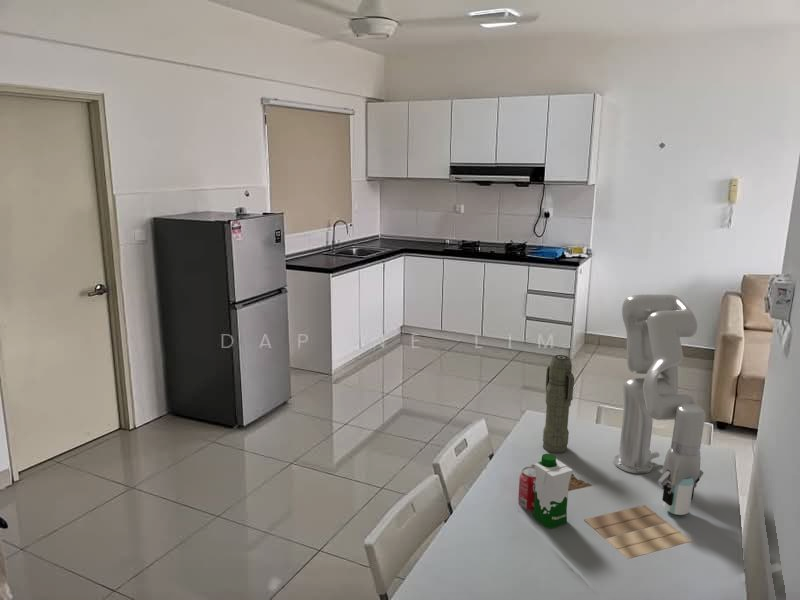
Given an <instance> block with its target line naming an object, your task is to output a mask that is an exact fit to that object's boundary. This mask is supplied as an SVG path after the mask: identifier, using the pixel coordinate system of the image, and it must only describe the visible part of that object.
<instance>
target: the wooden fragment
mask: <svg viewBox="0 0 800 600" xmlns="http://www.w3.org/2000/svg"><path fill="white" fill-rule="evenodd" d="M530 467H535V465H534V464H530ZM592 486H594V485H593V484H591V483H588V482H587V483H586V482H585V481H584V480H582V479H578V478H577V477H575V475H574V474H573V473H572V475H571V478H570V482H569V487H568V492H569V491H570V492H571V491H575V490H580V489H583V488H589V487H592Z"/></svg>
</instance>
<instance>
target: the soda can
mask: <svg viewBox="0 0 800 600" xmlns="http://www.w3.org/2000/svg"><path fill="white" fill-rule="evenodd" d="M535 487H536V474H535V467H532V466H526V467H523V469H522V471H521V472H520V474H519V482H518V495H517V496H518V498H517V499H518V505H519V506H520V507H521V508H522V509H524V510H527V511H534V502H535Z"/></svg>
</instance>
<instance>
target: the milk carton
mask: <svg viewBox="0 0 800 600" xmlns="http://www.w3.org/2000/svg"><path fill="white" fill-rule="evenodd" d="M533 465H535V474H536V487H535V502H534V510H532V511H533V512H532V517H533V518H534V519H535V520H536V521H538V523H540V524H541V525H543V526H544V527H545V528H546V529H548V530H549V529H550V530H551V529H554V528H557V527H560V526H562V525H566V524H567V523H568V512H567V511H568V510H567V509H568V497H569V496H568V495H569V490H568V487H569V482H570V478H571V475H572V474H573V472H574V470H573V469H572V468H570V467H569V466H568V465H567V464H564V463H563V462H561V461H560V460H558V459H557V457H556V455H554V454H553V453H544V454H542V455H541V460H540V461H539V462H536V463H533Z"/></svg>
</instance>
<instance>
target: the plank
mask: <svg viewBox="0 0 800 600" xmlns="http://www.w3.org/2000/svg"><path fill="white" fill-rule="evenodd" d="M583 521H584V522H585V523H586V524H587V525H588V526H590V527H591V528H592V529H593V530H594V531H596V533H598V534H599V535H600V536H601V537H602V538H604V539H607V538H611V537H615V536H619V535H623V534H626V533H630V532H634V531H638V530H642V529H646V528H649V527H653V526H657V525H661V524H665V523H667V521H666V520H665V519H664V518H662V517H661V516H659V515H658V514H657V513H656V512H654V511H653V510H652V509H651V508H649V507H648V506H647V505H645V504H643V505H638V506H635V507H631V508H628V509H627V508H625V509H623V510H619V511H614V512H611V513H607V514H605V513H604V514H603V515H602V514H601V515H598V516H594V517H589V518H584V519H583Z"/></svg>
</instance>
